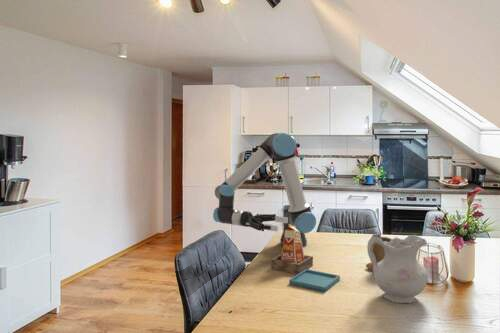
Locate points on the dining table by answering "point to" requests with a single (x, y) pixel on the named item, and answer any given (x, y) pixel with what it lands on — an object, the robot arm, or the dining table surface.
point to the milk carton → (292, 246)
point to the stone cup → (378, 252)
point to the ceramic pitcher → (399, 268)
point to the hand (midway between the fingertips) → (282, 224)
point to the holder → (291, 264)
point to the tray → (314, 280)
